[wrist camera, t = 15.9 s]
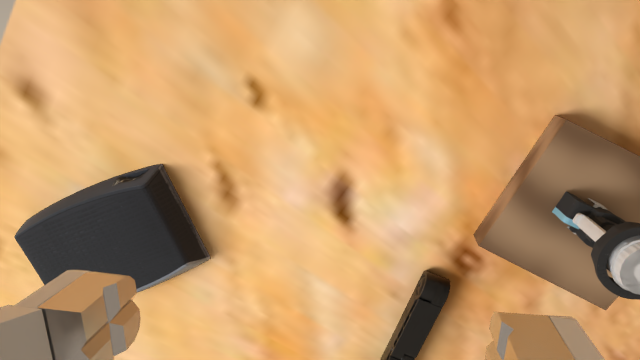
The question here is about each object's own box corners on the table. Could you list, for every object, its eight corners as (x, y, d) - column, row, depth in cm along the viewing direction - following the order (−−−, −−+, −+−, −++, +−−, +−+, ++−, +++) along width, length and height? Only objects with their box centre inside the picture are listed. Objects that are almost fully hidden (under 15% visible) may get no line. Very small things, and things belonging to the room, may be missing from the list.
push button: (643, 207, 35) (739, 265, 25) (604, 258, 37) (680, 329, 27) (571, 174, 35) (639, 218, 26) (535, 226, 37) (586, 286, 27)
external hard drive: (216, 262, 47) (200, 281, 43) (83, 305, 51) (58, 326, 47) (162, 155, 44) (140, 165, 40) (26, 212, 49) (-5, 226, 45)
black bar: (424, 265, 43) (427, 280, 40) (448, 274, 42) (453, 290, 40) (362, 391, 48) (361, 412, 46) (383, 400, 48) (383, 422, 45)
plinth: (554, 115, 36) (566, 119, 34) (688, 182, 36) (709, 191, 34) (473, 234, 40) (478, 245, 38) (593, 295, 40) (605, 310, 38)
